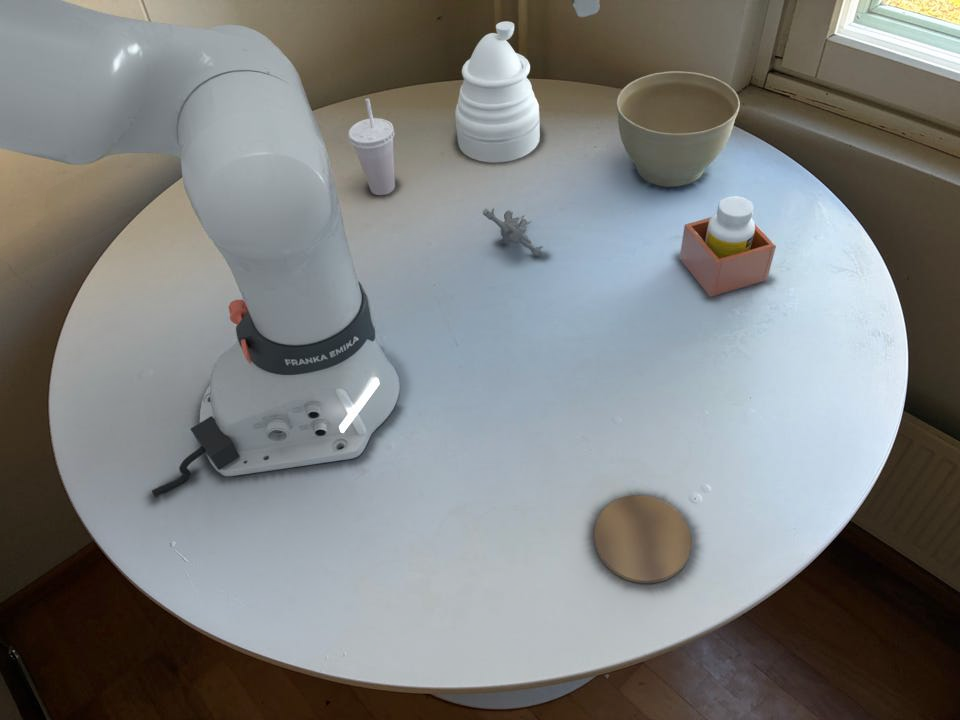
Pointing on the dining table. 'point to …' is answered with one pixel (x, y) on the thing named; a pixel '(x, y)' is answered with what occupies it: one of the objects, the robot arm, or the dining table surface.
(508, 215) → the grey creature figurine
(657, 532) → the coaster
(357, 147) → the smoothie
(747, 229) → the supplement bottle
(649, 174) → the planter bowl
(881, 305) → the dining table surface
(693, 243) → the box
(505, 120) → the honey pot
